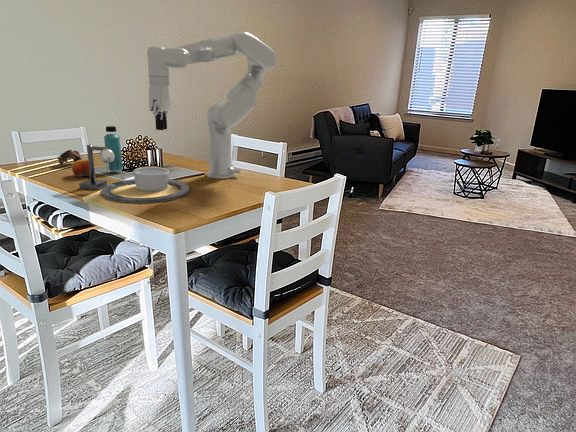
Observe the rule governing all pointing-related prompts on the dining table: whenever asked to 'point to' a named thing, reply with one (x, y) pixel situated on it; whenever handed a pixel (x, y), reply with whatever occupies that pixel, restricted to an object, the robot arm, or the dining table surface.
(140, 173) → the ramekin
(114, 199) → the ring
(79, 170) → the fruit
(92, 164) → the dial gauge stand
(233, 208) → the dining table surface
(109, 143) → the beverage bottle
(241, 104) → the robot arm
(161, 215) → the dining table surface
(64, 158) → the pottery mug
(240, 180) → the dining table surface
